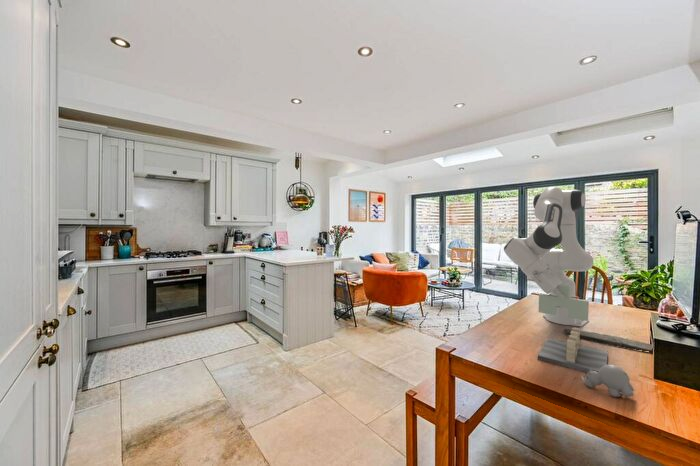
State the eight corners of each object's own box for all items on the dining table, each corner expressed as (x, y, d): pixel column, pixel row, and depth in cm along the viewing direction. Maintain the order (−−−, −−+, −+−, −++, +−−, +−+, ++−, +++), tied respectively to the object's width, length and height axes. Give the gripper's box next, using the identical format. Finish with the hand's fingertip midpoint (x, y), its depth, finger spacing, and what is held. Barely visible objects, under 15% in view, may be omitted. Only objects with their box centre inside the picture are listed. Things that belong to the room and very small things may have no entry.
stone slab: (565, 325, 146) (651, 340, 126) (566, 332, 146) (652, 347, 126) (562, 331, 139) (653, 347, 118) (563, 338, 139) (653, 355, 118)
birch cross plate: (548, 341, 131) (548, 321, 131) (607, 354, 118) (608, 332, 117) (537, 359, 113) (538, 336, 113) (606, 377, 100) (606, 351, 100)
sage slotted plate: (538, 312, 122) (539, 282, 122) (539, 311, 124) (540, 281, 123) (587, 321, 111) (588, 288, 111) (588, 319, 113) (589, 287, 113)
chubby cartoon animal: (590, 389, 97) (579, 362, 99) (638, 390, 89) (624, 361, 91) (586, 397, 92) (574, 369, 95) (635, 399, 84) (621, 368, 86)
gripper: (538, 268, 114) (568, 297, 108) (547, 263, 129) (574, 288, 123) (524, 278, 117) (553, 307, 111) (535, 272, 132) (561, 297, 126)
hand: (564, 297), depth 117 cm, fingers closed on sage slotted plate, 2 cm apart
